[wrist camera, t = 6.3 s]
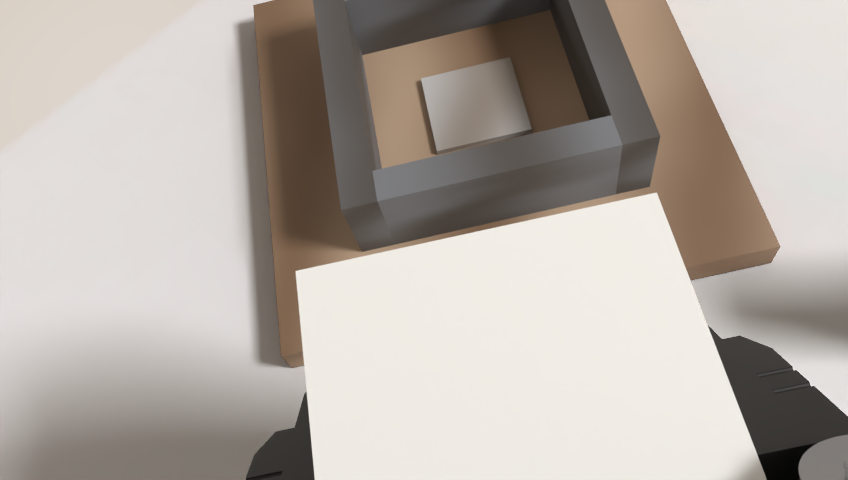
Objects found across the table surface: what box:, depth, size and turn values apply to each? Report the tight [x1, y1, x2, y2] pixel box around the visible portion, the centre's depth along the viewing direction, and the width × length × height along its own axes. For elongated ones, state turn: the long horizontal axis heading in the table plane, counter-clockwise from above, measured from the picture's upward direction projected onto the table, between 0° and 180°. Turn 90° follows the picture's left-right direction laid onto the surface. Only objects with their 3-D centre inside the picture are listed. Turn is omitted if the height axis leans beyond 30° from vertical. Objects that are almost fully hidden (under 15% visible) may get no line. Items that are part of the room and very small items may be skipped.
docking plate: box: [253, 0, 780, 368], centre depth 23 cm, size 14×14×4 cm
